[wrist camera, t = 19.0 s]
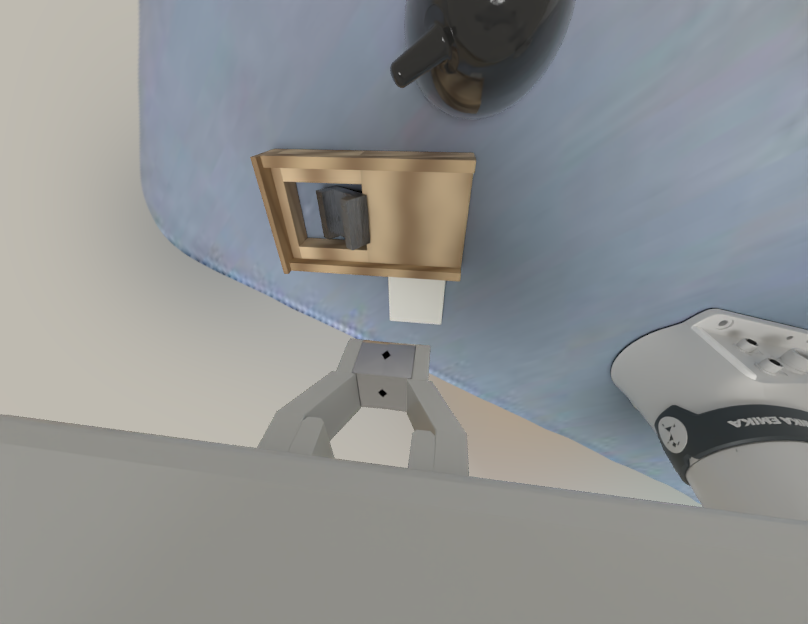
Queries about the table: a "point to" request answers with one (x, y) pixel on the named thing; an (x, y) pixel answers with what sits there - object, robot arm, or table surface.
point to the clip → (344, 215)
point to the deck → (373, 210)
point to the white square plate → (416, 300)
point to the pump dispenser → (479, 51)
